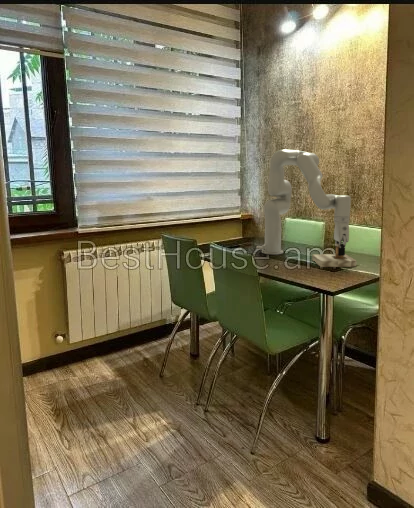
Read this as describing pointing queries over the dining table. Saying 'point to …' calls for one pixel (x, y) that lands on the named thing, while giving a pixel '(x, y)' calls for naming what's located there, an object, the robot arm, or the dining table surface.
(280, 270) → the dining table surface
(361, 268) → the dining table surface
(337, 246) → the bobbin
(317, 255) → the socket board
